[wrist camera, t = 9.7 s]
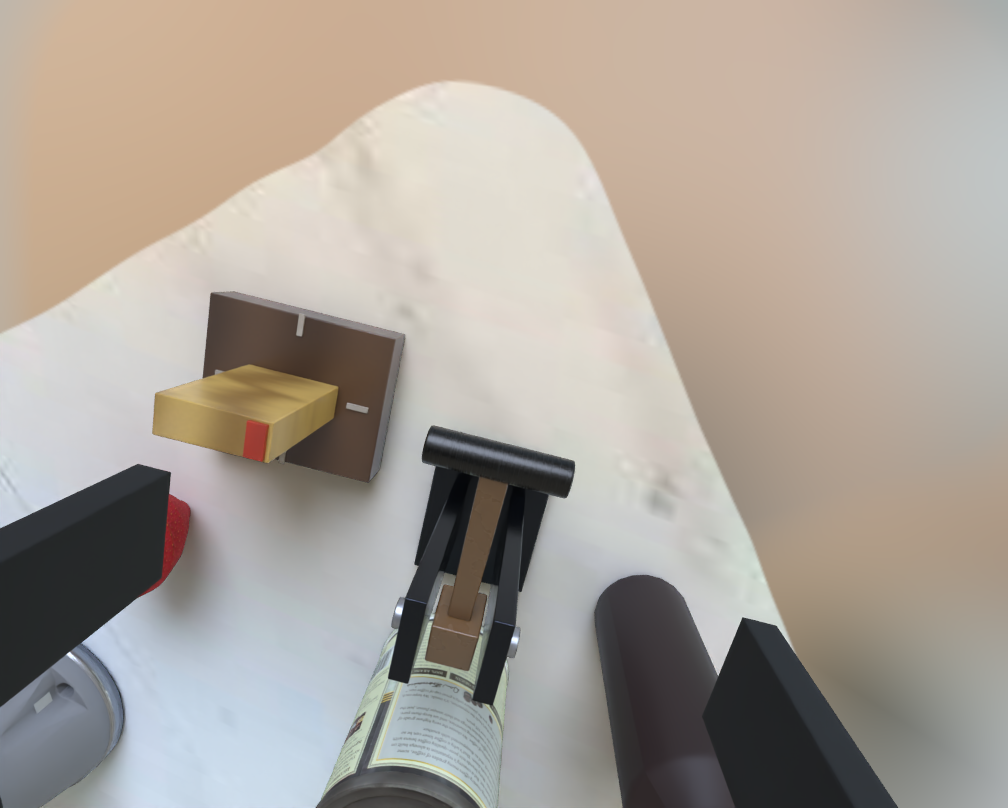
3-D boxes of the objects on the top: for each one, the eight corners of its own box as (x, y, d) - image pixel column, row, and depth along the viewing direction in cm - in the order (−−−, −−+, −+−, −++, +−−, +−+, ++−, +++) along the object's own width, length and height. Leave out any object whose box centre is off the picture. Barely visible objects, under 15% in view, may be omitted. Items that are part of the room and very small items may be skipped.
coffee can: (501, 732, 42) (482, 949, 29) (376, 711, 43) (298, 916, 29) (518, 622, 40) (506, 804, 26) (385, 601, 40) (304, 769, 27)
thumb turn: (245, 396, 34) (147, 436, 26) (248, 363, 34) (150, 393, 25) (333, 418, 34) (265, 465, 26) (339, 386, 34) (270, 423, 25)
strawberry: (143, 543, 41) (18, 628, 31) (148, 453, 39) (16, 513, 29) (217, 561, 40) (114, 652, 31) (226, 472, 39) (119, 538, 29)
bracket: (445, 431, 37) (382, 533, 22) (556, 460, 37) (566, 579, 22) (417, 556, 39) (345, 719, 25) (522, 583, 39) (510, 762, 25)
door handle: (437, 410, 20) (420, 447, 18) (576, 445, 20) (574, 486, 18) (405, 609, 27) (390, 652, 25) (509, 636, 27) (502, 681, 25)
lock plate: (218, 430, 38) (194, 442, 35) (233, 289, 35) (208, 290, 33) (379, 471, 38) (367, 485, 35) (406, 332, 35) (395, 337, 33)
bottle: (703, 629, 39) (863, 981, 19) (620, 666, 40) (694, 1031, 21) (659, 557, 38) (784, 854, 18) (577, 597, 39) (611, 915, 20)
